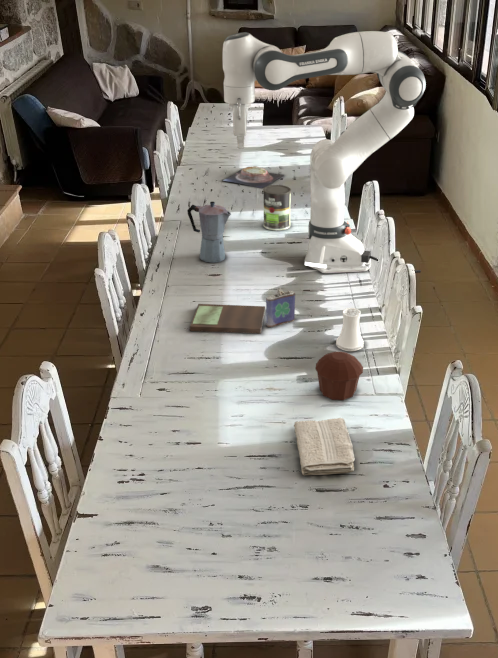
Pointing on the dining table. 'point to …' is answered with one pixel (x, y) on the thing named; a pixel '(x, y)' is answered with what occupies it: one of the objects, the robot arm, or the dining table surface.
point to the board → (228, 318)
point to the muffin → (338, 375)
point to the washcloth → (324, 447)
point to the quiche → (254, 177)
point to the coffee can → (277, 207)
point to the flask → (280, 308)
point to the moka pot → (211, 230)
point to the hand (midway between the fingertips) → (241, 143)
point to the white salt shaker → (350, 331)
